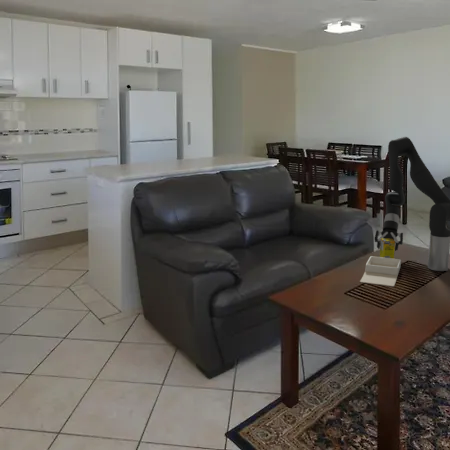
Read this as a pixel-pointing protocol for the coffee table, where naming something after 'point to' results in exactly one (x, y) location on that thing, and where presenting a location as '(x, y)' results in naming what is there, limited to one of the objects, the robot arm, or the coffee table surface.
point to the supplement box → (387, 248)
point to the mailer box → (381, 271)
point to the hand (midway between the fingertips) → (387, 249)
